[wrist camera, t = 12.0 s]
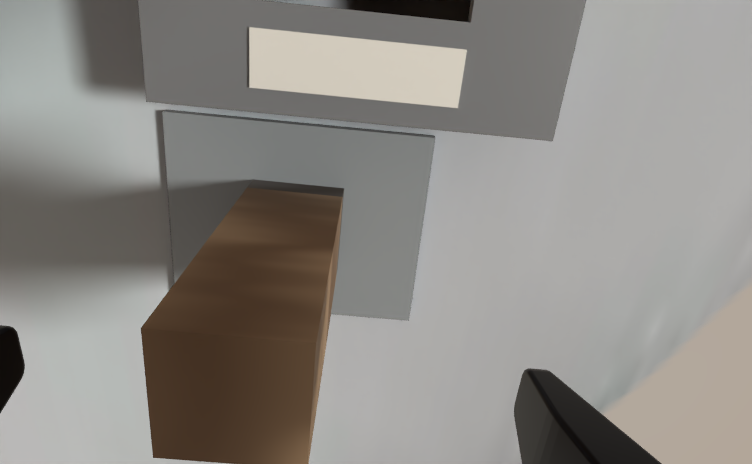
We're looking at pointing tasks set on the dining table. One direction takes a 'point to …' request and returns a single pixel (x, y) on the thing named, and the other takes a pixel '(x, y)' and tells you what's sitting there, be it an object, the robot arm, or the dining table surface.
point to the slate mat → (310, 167)
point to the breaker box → (366, 62)
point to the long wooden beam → (247, 332)
